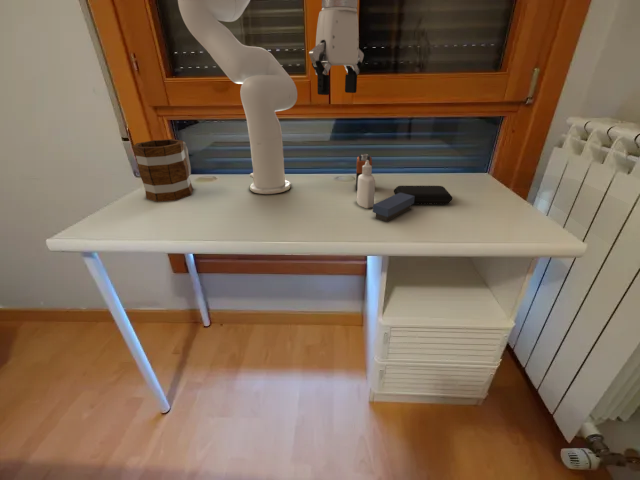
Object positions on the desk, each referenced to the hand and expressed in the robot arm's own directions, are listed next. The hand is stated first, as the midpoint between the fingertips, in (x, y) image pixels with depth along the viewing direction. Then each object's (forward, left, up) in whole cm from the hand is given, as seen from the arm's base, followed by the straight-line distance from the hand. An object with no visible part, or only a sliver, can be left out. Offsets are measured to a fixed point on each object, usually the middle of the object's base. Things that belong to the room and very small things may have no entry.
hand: (337, 93), depth 75 cm
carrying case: (+16, +18, -28) cm, 36 cm away
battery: (-2, +15, -28) cm, 31 cm away
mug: (-44, -26, -28) cm, 58 cm away
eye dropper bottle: (+7, +4, -28) cm, 29 cm away
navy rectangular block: (+16, +4, -28) cm, 32 cm away
